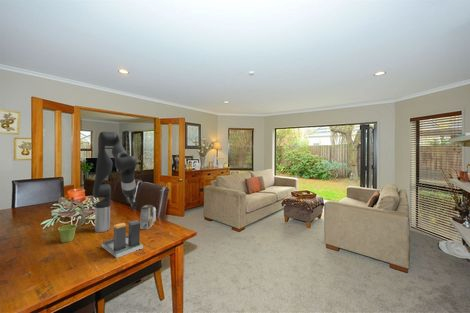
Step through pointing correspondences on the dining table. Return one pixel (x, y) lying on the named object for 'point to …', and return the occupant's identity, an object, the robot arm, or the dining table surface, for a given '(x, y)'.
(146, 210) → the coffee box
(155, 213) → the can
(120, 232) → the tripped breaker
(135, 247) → the twin post stand
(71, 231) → the plant pot
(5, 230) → the dining table surface
